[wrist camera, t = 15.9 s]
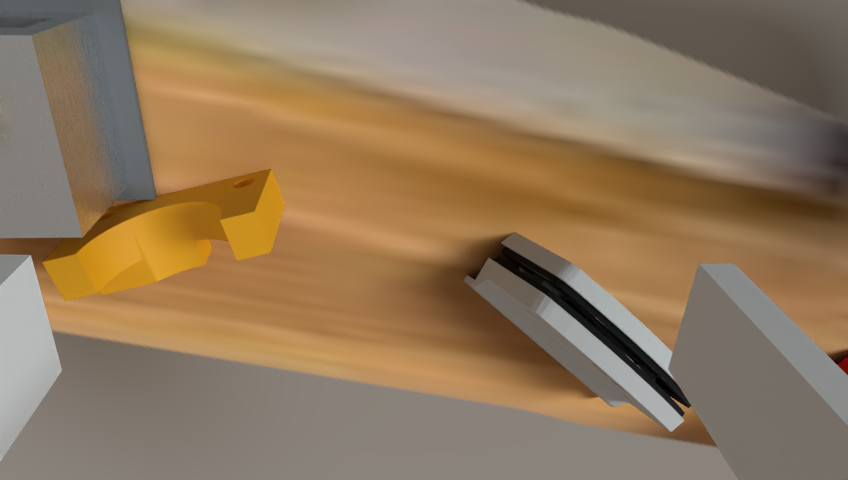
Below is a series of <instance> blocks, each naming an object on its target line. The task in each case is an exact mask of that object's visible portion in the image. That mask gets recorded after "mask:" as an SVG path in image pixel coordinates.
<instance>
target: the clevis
mask: <svg viewBox="0 0 848 480" xmlns="http://www.w3.org/2000/svg"><path fill="white" fill-rule="evenodd" d="M128 186H129V180H128V176H127V171H126V166H125V161H124V156H123V151H122V147H121V142H120V137H119V132H118V127H117V122H116V118H115V113H114V108H113V103H112V98H111V93H110V88H109V84H108V79H107V74H106V69H105V64H104V59H103V55H102V50H101V45H100V40H99V35H98V30H97V26H96V21H95V16H94V13H79V12H16V11H0V238H76V237H83V236H84V235H85V234H86V233H87V232H88V231H89V230H90V229H91V227H92V226H93V225H94V224H95V223H96V222H97V221H98V220H99V218H100V217H101V216H102V215H103V214H104V213H105V212H106V211H107V210H108V208H109V207H110V206H111V205H112V204H113V203H114V202H115V201H116V199H117V198H118V197H119V196H120V195H121V194H122V193H123V192H124V190H125V189H126V188H127V187H128Z"/></svg>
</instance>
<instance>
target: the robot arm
mask: <svg viewBox="0 0 848 480" xmlns="http://www.w3.org/2000/svg"><path fill="white" fill-rule="evenodd" d="M668 370H669V371H670V373H671V375H672V376H673V378H674V379H675V381H676V382H677V384H678V386H679V387H680V389H681V390H682V392H683V393H684V395H685V397H686V398H687V400H688V401H689V403H690V404H691V406H692V408H693V409H694V411H695V412H696V414H697V415H698V417H699V418H700V420H701V422H702V423H703V425H704V426H705V428H706V429H707V431H708V433H709V434H710V436H711V437H712V439H713V440H714V442H715V444H716V445H717V447H718V448H719V450H720V451H721V453H722V454H723V456H724V458H725V459H726V461H727V462H728V464H729V466H730V467H731V469H732V470H733V472H734V473H735V475H736V476H737V478H738V479H739V480H848V375H847V374H846V373H845V372H844V371H843V370H842V369H841V368H840V367H839V366H838V365H837V364H836V363H835V362H834V361H833V360H832V359H831V358H830V357H829V356H828V355H827V354H826V353H825V352H824V351H822V350H821V349H820V348H819V347H818V346H817V345H816V344H815V343H814V342H813V341H812V340H811V339H810V338H809V337H808V336H807V335H806V334H805V333H804V332H803V331H802V330H801V329H800V328H799V327H798V326H797V325H796V324H795V323H794V322H793V321H792V320H791V319H790V318H789V317H788V316H787V315H786V314H785V313H784V312H783V311H782V310H781V309H780V308H779V307H778V306H777V305H776V304H775V303H774V302H773V301H772V300H771V299H770V298H769V297H768V296H767V295H766V294H765V293H764V292H763V291H762V290H761V289H760V288H759V287H758V286H756V285H755V284H754V283H753V282H752V281H751V280H750V279H749V278H748V277H747V276H746V275H745V274H744V273H743V272H742V271H741V270H740V269H739V268H738V267H737V266H736V265H735V264H716V263H699V265H698V268H697V272H696V275H695V279H694V282H693V285H692V289H691V292H690V296H689V299H688V302H687V306H686V309H685V313H684V316H683V319H682V323H681V326H680V330H679V333H678V336H677V340H676V343H675V347H674V350H673V353H672V357H671V360H670V364H669V367H668ZM61 371H62V369H61V365H60V361H59V358H58V354H57V350H56V347H55V343H54V339H53V336H52V332H51V328H50V324H49V320H48V317H47V313H46V309H45V306H44V302H43V298H42V294H41V291H40V287H39V283H38V280H37V276H36V272H35V268H34V265H33V261H32V257H31V255H1V254H0V461H1V460H2V458H3V457H4V455H5V454H6V452H7V451H8V449H9V448H10V446H11V445H12V443H13V442H14V441H15V439H16V438H17V436H18V435H19V433H20V432H21V430H22V429H23V427H24V426H25V424H26V423H27V421H28V420H29V418H30V417H31V415H32V414H33V412H34V411H35V410H36V408H37V407H38V405H39V404H40V402H41V400H42V399H43V397H44V396H45V395H46V393H47V392H48V390H49V389H50V387H51V386H52V384H53V383H54V382H55V380H56V378H57V377H58V375H59V374H60V373H61Z"/></svg>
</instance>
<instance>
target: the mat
mask: <svg viewBox="0 0 848 480" xmlns="http://www.w3.org/2000/svg"><path fill="white" fill-rule="evenodd" d="M0 11H16V12H79V13H94V16H95V21H96V26H97V30H98V35H99V40H100V45H101V50H102V55H103V59H104V64H105V69H106V74H107V79H108V84H109V88H110V93H111V98H112V103H113V108H114V113H115V118H116V122H117V127H118V132H119V137H120V142H121V147H122V151H123V156H124V161H125V166H126V171H127V176H128V180H129V186H128V187H127V188H126V189H125V190H124V192H123V193H122V194H121V195H120V196H119V197H118V198H117V199H116V200H154V199H155V198H156V197H157V196H156V191H155V185H154V180H153V175H152V169H151V164H150V159H149V153H148V148H147V143H146V137H145V132H144V127H143V121H142V116H141V110H140V105H139V100H138V94H137V89H136V84H135V78H134V73H133V68H132V62H131V57H130V52H129V46H128V41H127V36H126V30H125V25H124V19H123V14H122V9H121V3H120V0H0Z"/></svg>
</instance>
